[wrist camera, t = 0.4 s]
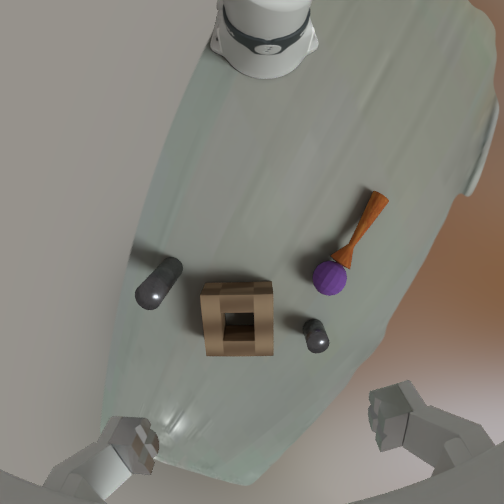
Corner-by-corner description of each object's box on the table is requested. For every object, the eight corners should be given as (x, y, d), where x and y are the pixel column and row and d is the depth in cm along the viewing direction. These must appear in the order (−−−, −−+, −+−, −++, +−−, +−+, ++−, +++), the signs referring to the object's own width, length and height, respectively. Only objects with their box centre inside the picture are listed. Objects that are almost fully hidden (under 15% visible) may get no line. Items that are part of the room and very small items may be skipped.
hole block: (205, 282, 56) (199, 295, 51) (271, 281, 56) (273, 294, 50) (210, 339, 60) (206, 356, 54) (272, 338, 59) (273, 355, 53)
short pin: (303, 319, 58) (307, 335, 52) (323, 318, 58) (330, 333, 52) (302, 337, 59) (306, 353, 53) (322, 336, 59) (328, 352, 53)
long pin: (160, 257, 55) (133, 284, 42) (181, 256, 55) (159, 284, 42) (163, 278, 56) (137, 309, 43) (183, 277, 56) (162, 310, 43)
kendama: (401, 208, 49) (339, 306, 52) (382, 203, 54) (325, 292, 57) (379, 188, 47) (313, 291, 50) (361, 185, 52) (301, 278, 55)
